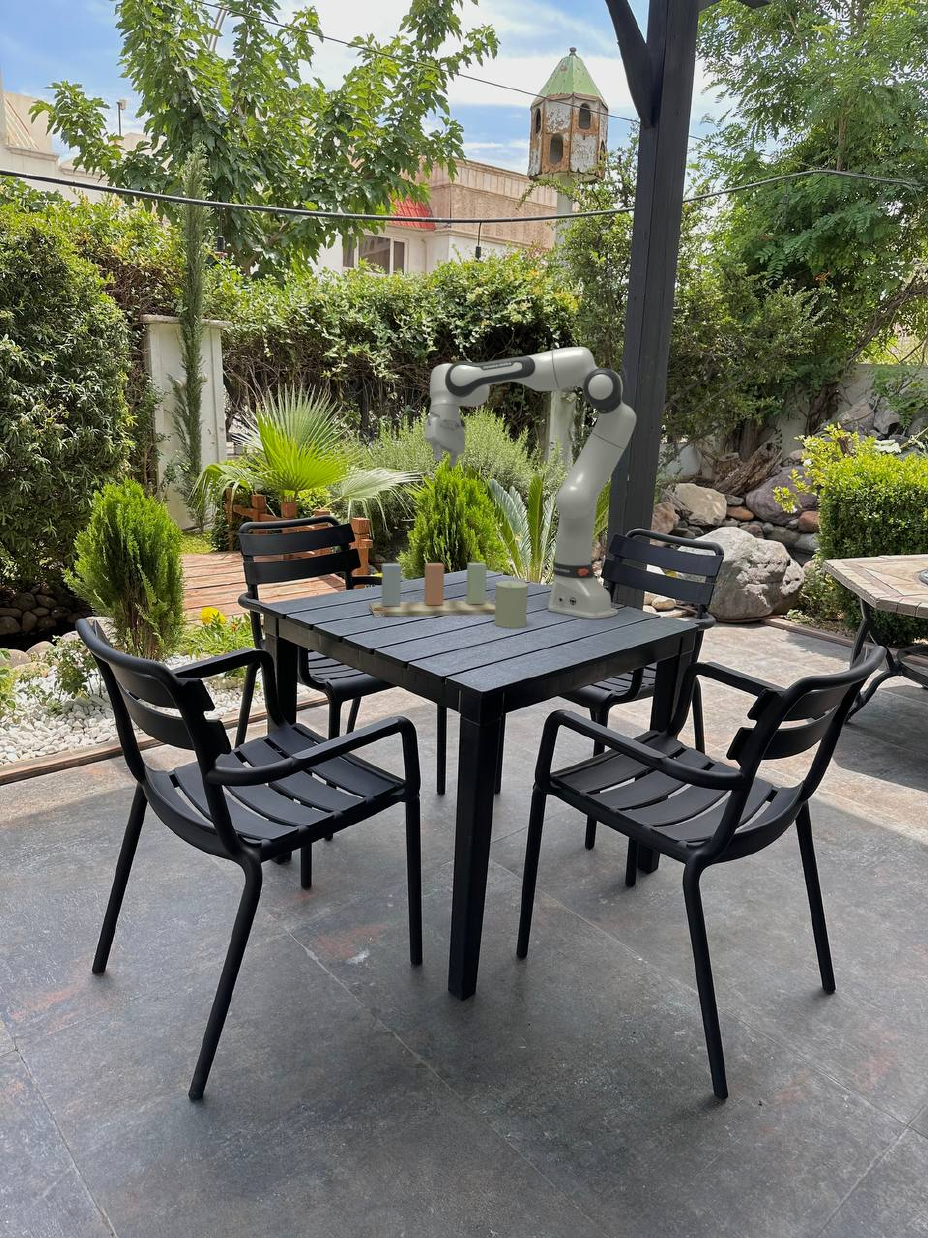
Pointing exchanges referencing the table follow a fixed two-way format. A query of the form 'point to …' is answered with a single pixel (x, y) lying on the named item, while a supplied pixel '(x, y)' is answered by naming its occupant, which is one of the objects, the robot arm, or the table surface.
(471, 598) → the sage key
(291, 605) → the table surface
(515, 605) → the can
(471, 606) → the wooden board
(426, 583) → the terracotta key
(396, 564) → the slate key
